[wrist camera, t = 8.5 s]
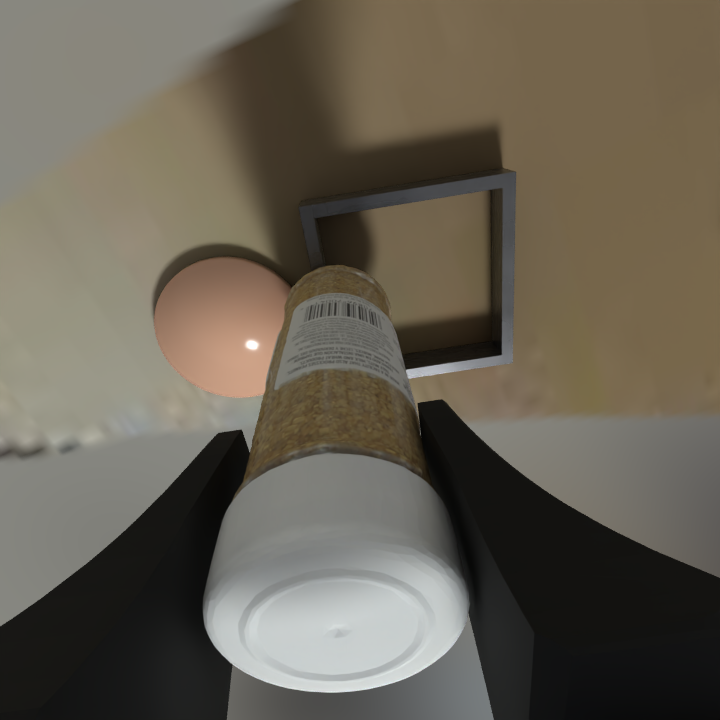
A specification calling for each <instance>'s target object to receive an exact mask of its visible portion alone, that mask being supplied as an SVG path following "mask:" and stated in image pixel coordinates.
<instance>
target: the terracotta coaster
mask: <svg viewBox="0 0 720 720" xmlns="http://www.w3.org/2000/svg"><path fill="white" fill-rule="evenodd" d="M291 289H292V287H291V286H290V284H289V283H288V282H286V281H285V280H284V279H283V278H282V277H281V276H280V275H278V274H277V273H276V272H274V271H273V270H271V269H269V268H268V267H266V266H264V265H262V264H259V263H257V262H255V261H251V260H248V259H244V258H238V257H228V256H221V257H212V258H207V259H203V260H200V261H198V262H195V263H193V264H191V265H189V266H187V267H185V268H184V269H183V270H181V271H180V272H179V273H178V274H176V275H175V276H174V277H173V278H172V279H171V280H170V282H169V283H168V284H167V285H166V286H165V288H164V289H163V291H162V292H161V295H160V297H159V299H158V301H157V305H156V309H155V316H154V326H155V333H156V337H157V340H158V343H159V346H160V348H161V350H162V352H163V354H164V356H165V357H166V359H167V360H168V362H169V363H170V364H171V366H172V367H173V368H174V369H175V370H176V371H177V372H178V373H179V374H180V375H181V376H182V377H184V378H185V379H186V380H188V381H189V382H191V383H192V384H194V385H195V386H197V387H199V388H201V389H203V390H206V391H208V392H211V393H214V394H218V395H222V396H227V397H253V396H258V395H262V394H264V392H265V383H266V377H267V373H268V369H269V365H270V362H271V358H272V354H273V350H274V347H275V343H276V340H277V336H278V334H279V332H280V331H281V330H282V325H283V322H284V313H285V310H284V306H285V303H286V301H287V298H288V295H289V292H290V291H291Z"/></svg>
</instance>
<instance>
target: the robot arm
mask: <svg viewBox="0 0 720 720" xmlns="http://www.w3.org/2000/svg"><path fill="white" fill-rule="evenodd" d="M418 411H419V421H420V430H421V439H422V443H423V449H424V452H425V456H426V459H427V464H428V468H429V472H430V476H431V481H432V486H433V488H434V489H435V491H436V492H437V493H438V495H439V497H440V498H441V499H442V501H443V502H444V504H445V506H446V508H447V510H448V512H449V515H450V518H451V522H452V525H453V529H454V532H455V536H456V539H457V543H458V547H459V551H460V555H461V560H462V564H463V568H464V572H465V576H466V581H467V585H468V590H469V602H470V606H469V612H468V613H469V617H470V621H471V625H472V629H473V633H474V637H475V641H476V645H477V649H478V654H479V658H480V662H481V666H482V671H483V675H484V679H485V683H486V687H487V692H488V696H489V700H490V705H491V709H492V713H493V717H494V720H720V578H719V577H716V576H714V575H712V574H709V573H707V572H704V571H702V570H700V569H697V568H695V567H692V566H690V565H687V564H685V563H683V562H680V561H678V560H675V559H673V558H671V557H668V556H666V555H663V554H661V553H659V552H657V551H654V550H652V549H650V548H648V547H646V546H644V545H642V544H640V543H638V542H635V541H633V540H631V539H629V538H627V537H625V536H623V535H621V534H619V533H617V532H615V531H613V530H611V529H609V528H608V527H606V526H603V525H602V524H600V523H598V522H596V521H594V520H593V519H591V518H589V517H588V516H586V515H584V514H582V513H580V512H578V511H577V510H575V509H574V508H572V507H570V506H568V505H567V504H565V503H563V502H562V501H560V500H558V499H557V498H555V497H554V496H552V495H551V494H549V493H548V492H546V491H545V490H543V489H542V488H541V487H539V486H538V485H536V484H535V483H533V482H532V481H531V480H529V479H528V478H527V477H525V476H524V475H523V474H521V473H520V472H519V471H518V470H516V469H515V468H514V467H512V466H511V465H510V464H509V463H508V462H506V461H505V460H504V459H503V458H502V457H500V456H499V455H498V454H497V453H496V452H495V451H493V450H492V449H491V448H490V447H489V446H488V445H487V444H486V443H485V442H484V441H482V440H481V439H480V438H479V437H478V436H477V435H476V434H475V433H474V432H473V431H472V430H471V429H470V428H469V427H468V426H467V425H466V424H465V423H464V422H463V421H462V420H461V419H460V418H459V417H458V416H457V414H456V413H455V412H454V411H453V410H452V409H451V408H450V407H449V405H448V404H447V403H446V402H445V401H443V400H442V399H441V400H434V401H427V402H421V403H418ZM249 455H250V452H249V449H248V447H247V444H246V441H245V438H244V435H243V432H242V430H235V431H229V432H222V433H218V434H217V435H216V436H215V437H214V438H213V439H212V440H211V441H210V442H209V443H208V444H207V446H206V447H205V448H204V449H203V450H202V451H201V452H200V453H199V454H198V456H197V457H196V458H195V459H194V460H193V461H192V462H191V464H190V465H189V466H188V467H187V468H186V469H185V470H184V471H183V472H182V473H181V475H179V477H178V478H177V479H176V480H175V481H174V482H173V483H172V484H171V485H170V486H169V488H168V489H167V490H166V491H165V492H164V493H163V494H162V495H161V496H160V497H159V498H158V499H157V500H156V501H155V502H154V503H153V504H152V505H151V506H150V507H149V508H148V509H147V510H146V511H145V512H144V513H143V514H142V515H141V516H140V517H139V518H138V519H137V520H136V521H135V522H134V523H133V524H132V525H131V526H130V527H128V528H127V529H126V530H125V531H124V532H123V533H122V534H121V535H120V536H119V537H118V538H116V539H115V540H114V541H113V542H112V543H111V544H109V545H108V546H107V547H106V548H105V549H104V550H103V551H101V552H100V553H99V554H98V555H97V556H95V557H94V558H93V559H92V560H90V561H89V562H88V563H87V564H86V565H84V566H83V567H82V568H80V569H79V570H78V571H76V572H75V573H74V574H73V575H71V576H70V577H69V578H67V579H66V580H65V581H63V582H62V583H61V584H59V585H58V586H57V587H56V588H54V589H53V590H52V591H50V592H49V593H48V594H46V595H45V596H44V597H43V598H41V599H40V600H38V601H37V602H36V603H34V604H33V605H31V606H30V607H28V608H27V609H26V610H24V611H23V612H21V613H20V614H18V615H17V616H16V617H14V618H13V619H11V620H10V621H8V622H6V623H5V624H3V625H2V626H0V720H227V711H228V701H229V691H230V680H231V672H232V664H231V663H230V662H229V661H228V660H227V659H226V658H225V657H224V656H223V655H222V654H221V653H220V652H219V651H218V650H217V649H216V647H215V646H214V645H213V643H212V641H211V639H210V638H209V636H208V634H207V631H206V628H205V625H204V617H203V596H204V592H205V587H206V583H207V579H208V574H209V570H210V566H211V561H212V557H213V553H214V550H215V546H216V542H217V538H218V535H219V531H220V527H221V524H222V520H223V518H224V515H225V513H226V511H227V509H228V507H229V505H230V504H231V503H232V501H233V498H234V495H235V493H236V492H237V490H238V489H239V487H240V486H241V484H242V483H243V479H244V475H245V472H246V468H247V463H248V459H249Z"/></svg>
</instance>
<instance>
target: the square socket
mask: <svg viewBox="0 0 720 720" xmlns="http://www.w3.org/2000/svg"><path fill="white" fill-rule="evenodd" d="M485 190H491V259H492V341H490V342H484V343H477V344H470V345H464V346H457V347H451V348H444V349H437V350H431V351H424V352H418V353H411V354H405V355H402V357H403V361H404V365H405V369H406V373H407V376H408V379H409V378H416V377H422V376H429V375H436V374H442V373H449V372H456V371H462V370H469V369H476V368H482V367H489V366H496V365H502V364H509V363H513V309H514V254H515V198H516V172H515V171H512V170H508V169H505V168H500V169H494V170H488V171H482V172H476V173H470V174H464V175H458V176H452V177H445V178H439V179H433V180H427V181H421V182H415V183H409V184H403V185H396V186H390V187H384V188H378V189H372V190H366V191H360V192H354V193H348V194H341V195H335V196H329V197H323V198H317V199H311V200H305V201H301V203H300V205H299V212H300V216H301V221H302V226H303V231H304V236H305V241H306V246H307V251H308V255H309V260H310V265H311V270H312V271H313V270H316V269H318V268H320V267H325V266H326V264H325V259H324V254H323V248H322V243H321V238H320V232H319V227H318V222H317V218H319V217H325V216H331V215H337V214H344V213H350V212H356V211H362V210H368V209H374V208H381V207H387V206H393V205H399V204H405V203H411V202H418V201H424V200H430V199H436V198H442V197H448V196H455V195H461V194H467V193H473V192H479V191H485Z"/></svg>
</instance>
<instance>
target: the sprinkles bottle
mask: <svg viewBox="0 0 720 720" xmlns="http://www.w3.org/2000/svg"><path fill="white" fill-rule="evenodd" d="M284 310H285V313H284V322H283V325H282V330H281V331H280V332H279V334H278V336H277V340H276V343H275V347H274V350H273V354H272V358H271V362H270V365H269V369H268V373H267V377H266V383H265V392H264V396H263V401H262V404H261V409H260V413H259V418H258V421H257V425H256V428H255V434H254V436H253V440H252V447H251V451H250V455H249V459H248V463H247V468H246V472H245V475H244V479H243V483H242V484H241V486H240V487H239V489H238V490H237V492H236V493H235V495H234V498H233V501H232V503H231V504H230V505H229V507H228V509H227V511H226V513H225V515H224V518H223V520H222V524H221V527H220V531H219V535H218V538H217V542H216V546H215V550H214V553H213V557H212V561H211V566H210V570H209V574H208V579H207V583H206V587H205V592H204V596H203V617H204V625H205V628H206V631H207V634H208V636H209V638H210V639H211V641H212V643H213V645H214V646H215V647H216V649H217V650H218V651H219V652H220V653H221V654H222V655H223V656H224V657H225V658H226V659H227V660H228V661H229V662H230V663H231V664H233V665H235V666H236V667H237V668H239V669H241V670H242V671H244V672H245V673H247V674H249V675H251V676H253V677H255V678H258V679H260V680H262V681H265V682H268V683H271V684H274V685H278V686H281V687H286V688H290V689H297V690H302V691H311V692H349V691H358V690H365V689H372V688H376V687H380V686H384V685H387V684H391V683H394V682H397V681H400V680H403V679H405V678H407V677H409V676H412V675H414V674H416V673H418V672H420V671H421V670H423V669H425V668H426V667H428V666H430V665H431V664H433V663H434V662H435V661H436V660H438V659H439V658H440V657H442V656H443V655H444V654H445V653H446V652H447V651H448V650H449V649H450V648H451V647H452V646H453V644H454V643H455V642H456V640H457V639H458V637H459V635H460V634H461V632H462V630H463V628H464V626H465V624H466V621H467V617H468V612H469V606H470V602H469V590H468V585H467V581H466V576H465V572H464V568H463V564H462V560H461V555H460V551H459V547H458V543H457V539H456V536H455V532H454V529H453V525H452V522H451V518H450V515H449V512H448V510H447V508H446V506H445V504H444V502H443V501H442V499H441V498H440V497H439V495H438V493H437V492H436V491H435V489H434V488H433V486H432V481H431V476H430V472H429V468H428V464H427V459H426V456H425V452H424V449H423V443H422V439H421V435H420V424H419V419H418V414H417V410H416V406H415V403H414V399H413V395H412V391H411V388H410V384H409V380H408V376H407V373H406V369H405V365H404V361H403V357H402V353H401V350H400V346H399V342H398V338H397V334H396V332H395V329H394V327H393V325H392V322H391V307H390V303H389V301H388V298H387V295H386V293H385V291H384V290H383V288H382V287H381V285H380V284H379V283H378V282H377V281H376V280H375V279H374V278H373V277H371V276H370V275H369V274H368V273H366V272H364V271H361V270H359V269H357V268H353V267H347V266H344V265H334V266H325V267H320V268H318V269H316V270H313V271H312V272H310V273H308V274H306V275H304V276H303V277H302V278H301V279H300V280H299V281H298V282H297V283H296V284H295V285H294V286H293V287H292V289H291V291H290V292H289V295H288V298H287V301H286V303H285V306H284Z"/></svg>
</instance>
